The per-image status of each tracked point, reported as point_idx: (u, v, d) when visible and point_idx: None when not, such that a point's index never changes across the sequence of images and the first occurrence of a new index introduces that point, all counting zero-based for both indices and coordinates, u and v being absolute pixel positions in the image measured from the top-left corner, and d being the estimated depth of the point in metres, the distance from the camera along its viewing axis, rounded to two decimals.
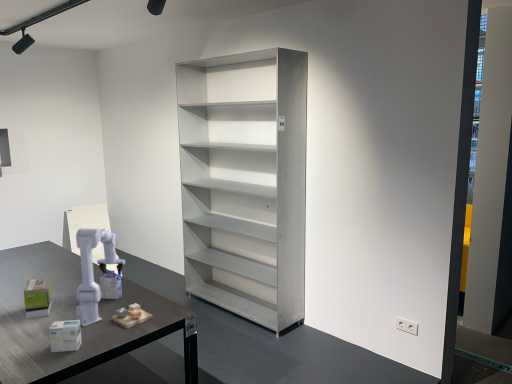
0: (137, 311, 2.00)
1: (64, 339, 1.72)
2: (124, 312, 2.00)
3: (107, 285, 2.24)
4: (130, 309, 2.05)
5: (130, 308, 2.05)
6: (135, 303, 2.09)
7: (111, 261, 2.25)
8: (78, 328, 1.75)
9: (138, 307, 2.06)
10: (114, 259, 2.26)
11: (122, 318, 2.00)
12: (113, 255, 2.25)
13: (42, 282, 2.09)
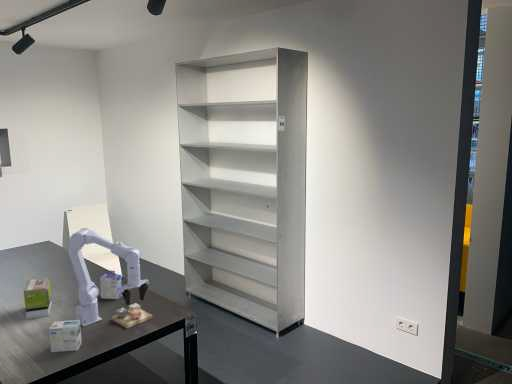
0: (137, 311, 2.00)
1: (64, 339, 1.72)
2: (124, 312, 2.00)
3: (107, 285, 2.24)
4: (130, 309, 2.05)
5: (130, 308, 2.05)
6: (135, 303, 2.09)
7: None
8: (78, 328, 1.75)
9: (138, 307, 2.06)
10: None
11: (122, 318, 2.00)
12: None
13: (42, 282, 2.09)
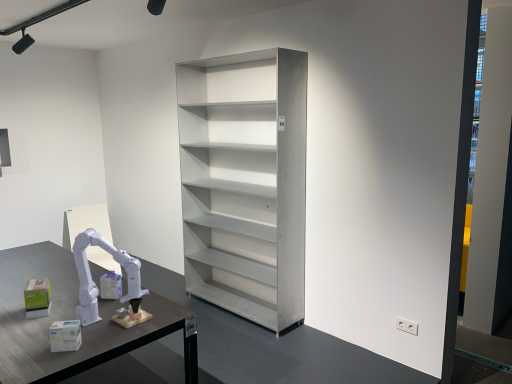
0: None
1: (64, 339, 1.72)
2: (124, 312, 2.00)
3: (107, 285, 2.24)
4: (130, 309, 2.05)
5: (130, 308, 2.05)
6: None
7: None
8: (78, 328, 1.75)
9: None
10: (128, 292, 1.97)
11: (122, 318, 2.00)
12: (128, 286, 1.97)
13: (42, 282, 2.09)
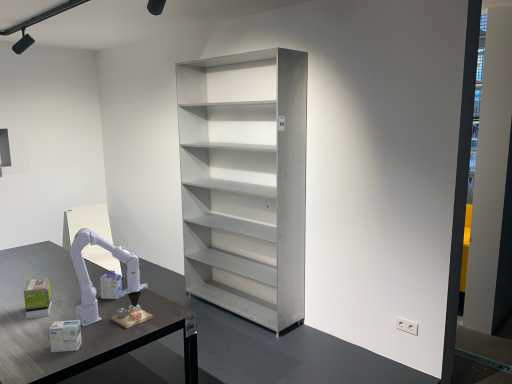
0: (137, 313, 2.00)
1: (64, 339, 1.72)
2: (124, 312, 2.00)
3: (107, 285, 2.24)
4: (130, 309, 2.05)
5: (130, 308, 2.05)
6: None
7: None
8: (78, 328, 1.75)
9: (138, 307, 2.06)
10: None
11: (122, 318, 2.00)
12: None
13: (42, 282, 2.09)
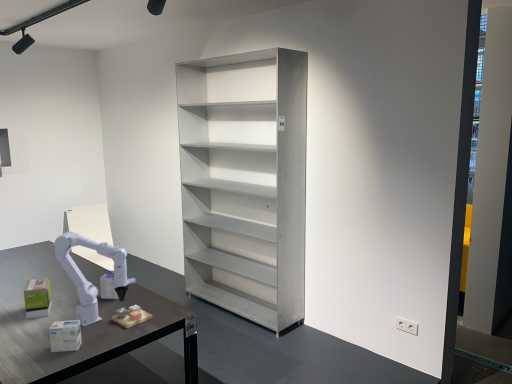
0: (137, 313, 2.00)
1: (64, 339, 1.72)
2: (124, 312, 2.00)
3: (107, 285, 2.24)
4: (130, 311, 2.06)
5: (130, 310, 2.05)
6: (135, 305, 2.09)
7: None
8: (78, 328, 1.75)
9: (138, 309, 2.06)
10: (114, 280, 1.98)
11: (122, 318, 2.00)
12: (114, 275, 1.98)
13: (42, 282, 2.09)
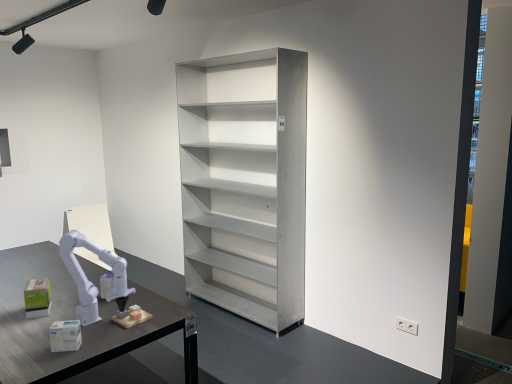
0: (137, 313, 2.00)
1: (64, 339, 1.72)
2: (124, 313, 2.00)
3: (107, 285, 2.24)
4: (130, 311, 2.06)
5: (130, 310, 2.05)
6: (135, 305, 2.09)
7: None
8: (78, 328, 1.75)
9: (138, 309, 2.06)
10: None
11: (122, 318, 2.00)
12: (114, 285, 1.98)
13: (42, 282, 2.09)
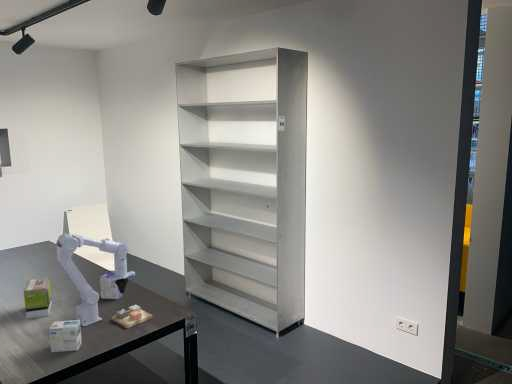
0: (137, 313, 2.00)
1: (64, 339, 1.72)
2: (124, 314, 2.00)
3: (107, 285, 2.24)
4: (130, 311, 2.06)
5: (130, 310, 2.05)
6: (135, 305, 2.09)
7: None
8: (78, 328, 1.75)
9: (138, 309, 2.06)
10: (115, 273, 2.07)
11: (122, 318, 2.00)
12: None
13: (42, 282, 2.09)
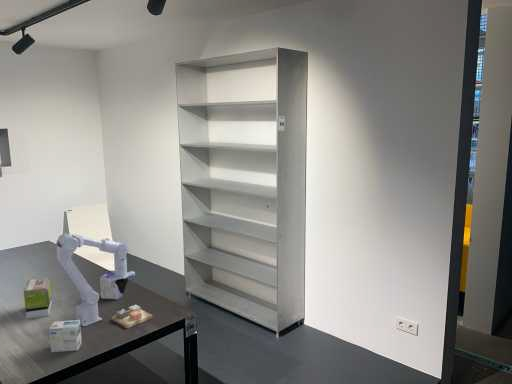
0: (137, 313, 2.00)
1: (64, 339, 1.72)
2: (124, 314, 2.00)
3: (107, 285, 2.24)
4: (130, 311, 2.06)
5: (130, 310, 2.05)
6: (135, 305, 2.09)
7: None
8: (78, 328, 1.75)
9: (138, 309, 2.06)
10: (115, 273, 2.07)
11: (122, 318, 2.00)
12: None
13: (42, 282, 2.09)
